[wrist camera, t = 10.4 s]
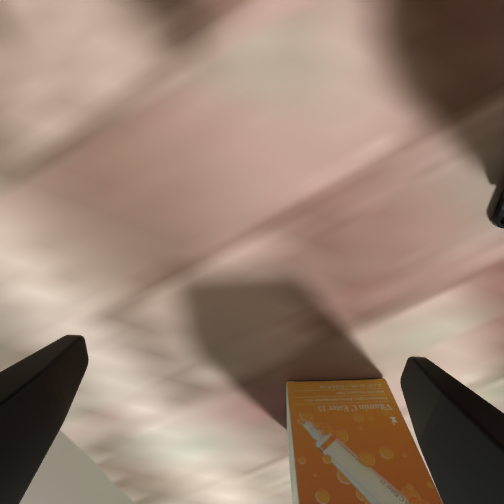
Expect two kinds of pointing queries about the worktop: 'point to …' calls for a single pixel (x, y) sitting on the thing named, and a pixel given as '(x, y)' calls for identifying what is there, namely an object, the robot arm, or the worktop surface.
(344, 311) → the worktop surface
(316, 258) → the worktop surface
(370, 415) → the small box
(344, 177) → the worktop surface
